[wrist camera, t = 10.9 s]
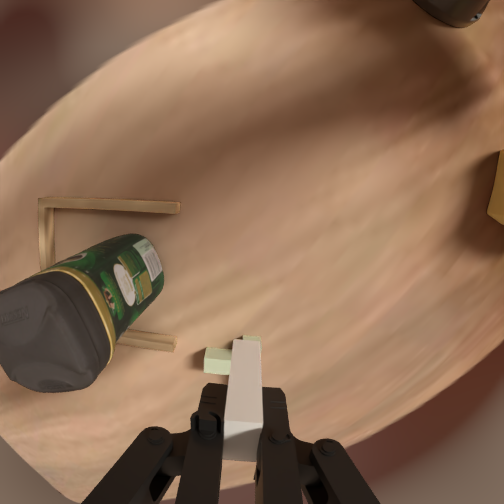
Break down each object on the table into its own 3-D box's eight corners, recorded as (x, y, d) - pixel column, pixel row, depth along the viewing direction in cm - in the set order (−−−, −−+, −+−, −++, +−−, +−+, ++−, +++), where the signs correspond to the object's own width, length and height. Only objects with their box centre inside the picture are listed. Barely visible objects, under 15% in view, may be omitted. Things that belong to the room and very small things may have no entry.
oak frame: (47, 197, 29) (38, 198, 27) (180, 202, 30) (175, 203, 28) (56, 321, 32) (48, 327, 31) (176, 343, 33) (173, 352, 31)
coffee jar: (105, 313, 32) (15, 407, 14) (80, 250, 31) (-38, 308, 12) (176, 293, 32) (108, 404, 14) (151, 223, 30) (41, 272, 12)
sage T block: (207, 331, 33) (204, 342, 30) (260, 336, 33) (261, 347, 31) (205, 374, 34) (203, 386, 32) (255, 378, 34) (256, 390, 32)
